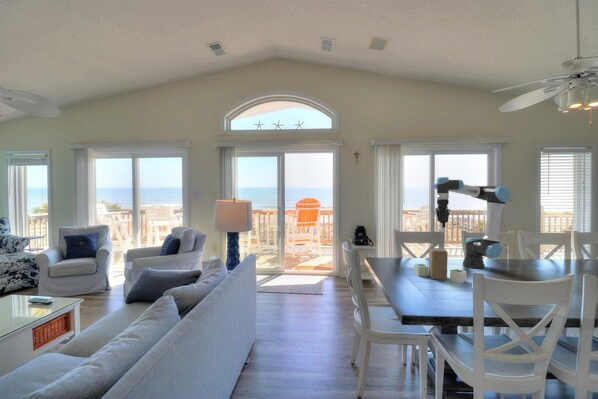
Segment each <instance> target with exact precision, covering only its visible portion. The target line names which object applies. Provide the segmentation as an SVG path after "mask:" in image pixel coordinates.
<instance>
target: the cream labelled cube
mask: <svg viewBox="0 0 598 399" xmlns="http://www.w3.org/2000/svg"><path fill="white" fill-rule="evenodd" d="M449 281H452V282H453V283H454V282H455V283H457V284H462V282H463V283H465V281H466V282H467V270H466V271H465V270H462V269H458V268H455V269H450V272H449Z"/></svg>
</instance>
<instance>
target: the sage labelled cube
mask: <svg viewBox="0 0 598 399" xmlns="http://www.w3.org/2000/svg"><path fill="white" fill-rule="evenodd" d="M413 267H414V268H413V269H414V270H413V274H414V275H416V276H417V277H429V265H427V264H424V263H414V266H413Z"/></svg>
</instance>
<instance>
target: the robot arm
mask: <svg viewBox="0 0 598 399" xmlns="http://www.w3.org/2000/svg"><path fill="white" fill-rule="evenodd" d="M433 188H434V189H435V190H436V205H437V207H436V208H434V209H435V210H434V211H435V213H436V219H437V222H439V227H440V228H439V231H440V232H441V233H445V232H446V223H448V222H449V219H450V212H451V209H450V208H449V206H448V205H450V204H449V202H450V201H449V195H450V194H449V193H450V192H452V193H456V194H460V195H466V196H470V197H471V198H474V199H478V200H482V201H486V204H487V205H488V209H487V216H486V222H485V223H486V224H485V229H484V235H483V237H467V238H466V240H465V256H464V259H463V262H462V266H464V267H466V268H468V269H469V268H470V269H476V270H477V269H480V270H481V269H485V262H484V259H483V257H486V258H487V259H488V258H489V259H497V258H499V257H500V256H501V255H502V253H503V246H502V245H501V244H500V240H499V231H500V226H501V218H502V211H503V207H504V206H505V205H506V202H509V200H510V199H511V192H510V190H509V188H508V187H506V186H502V185H468V184H464V181H463V180H462V179H449V177H448V176H446V177H444V176H442V177H441V176H440V177H437V178H436V180H435V181H434V182H433Z"/></svg>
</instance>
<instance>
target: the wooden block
mask: <svg viewBox="0 0 598 399" xmlns="http://www.w3.org/2000/svg"><path fill="white" fill-rule="evenodd" d="M448 252H449V251H447V250H446V249H445V248H435V247H433V248H432V247H431V248H429V254H428V258H429V259H428V261H429V262H428V277H430V278H431V279H432V280H439V281H440V280H441V281H442V280H443V281H447V279H448V256H449V254H448Z"/></svg>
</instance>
